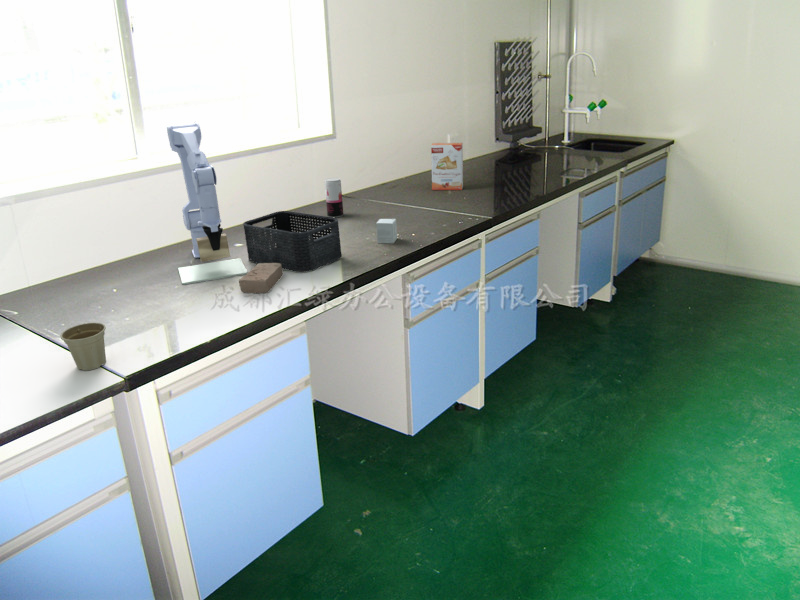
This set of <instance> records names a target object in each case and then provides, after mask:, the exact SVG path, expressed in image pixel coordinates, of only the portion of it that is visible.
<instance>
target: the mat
mask: <svg viewBox="0 0 800 600" xmlns="http://www.w3.org/2000/svg"><path fill="white" fill-rule="evenodd" d="M177 269H178V272H179V273H178V274H179V276H180V277H179V278H180V281H181V285H189V284H191V285H192V284H197V283H202V282H208V281H213V280H220V279H226V278H227V279H228V278H233V277H238V276H245V275H246V274H247V273H249V272H248V269H247V268H246V266H245V264H244V262H243V261H242V259H241V257H238V258H233V259H225V260H219V261H213V262H207V263H200V264H195V265H187V266H181V267H178V268H177Z"/></svg>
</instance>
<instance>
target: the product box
mask: <svg viewBox="0 0 800 600" xmlns="http://www.w3.org/2000/svg"><path fill="white" fill-rule="evenodd" d="M375 225H376V227H375V228H376V243H377V244H395V242H396V240H397V239H398V233H397V232H398V231H397V230H398V229H397V218H379V219H378V220H377V222H376V223H375Z"/></svg>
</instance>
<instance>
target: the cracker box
mask: <svg viewBox="0 0 800 600" xmlns="http://www.w3.org/2000/svg"><path fill="white" fill-rule="evenodd" d="M430 146H431V148H430V149H431V153H430V155H431V158H430V159H431V190H432V191H462V190H463V187H464V166H463V165H464V161H463V160H464V156H463V155H464V153H463V152H464V151H463V150H464V149H463V142H433V143H431V145H430Z"/></svg>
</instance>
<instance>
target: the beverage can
mask: <svg viewBox="0 0 800 600" xmlns="http://www.w3.org/2000/svg"><path fill="white" fill-rule="evenodd" d="M324 192H325V193H324V194H325V203H326V213H327V217H336V218H340V217H343V216H344V205H343V204H344V203H343V194H342V193H343V192H342V181H341V178H340V177H328V178H325V179H324ZM342 215H343V216H342Z"/></svg>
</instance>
